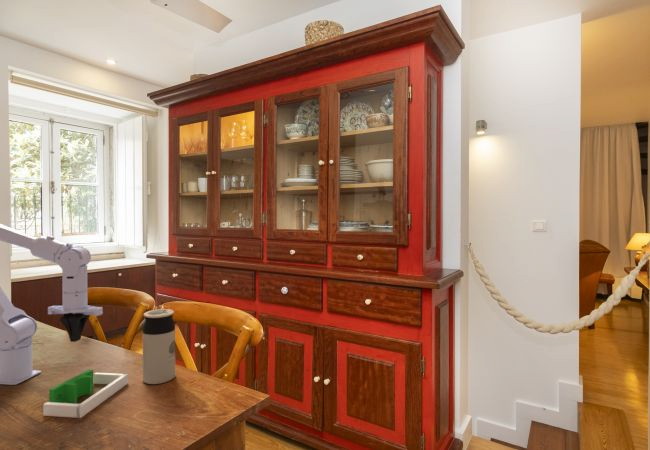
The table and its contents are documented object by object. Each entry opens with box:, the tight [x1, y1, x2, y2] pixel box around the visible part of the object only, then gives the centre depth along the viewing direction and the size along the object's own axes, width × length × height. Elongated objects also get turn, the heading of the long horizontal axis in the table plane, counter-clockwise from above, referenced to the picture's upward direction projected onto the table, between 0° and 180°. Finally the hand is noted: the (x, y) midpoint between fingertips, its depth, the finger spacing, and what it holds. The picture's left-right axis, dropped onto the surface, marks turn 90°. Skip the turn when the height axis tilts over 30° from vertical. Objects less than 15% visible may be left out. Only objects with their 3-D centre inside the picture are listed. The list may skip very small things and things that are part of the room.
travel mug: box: [142, 308, 176, 385], centre depth 100 cm, size 8×8×18 cm
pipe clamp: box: [48, 369, 94, 404], centre depth 90 cm, size 11×4×5 cm, turn 169°
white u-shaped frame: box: [42, 372, 129, 419], centre depth 89 cm, size 9×17×2 cm, turn 175°
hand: (75, 340), depth 102 cm, fingers closed
